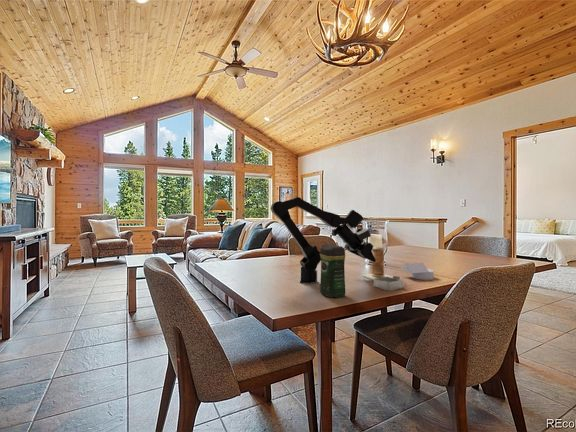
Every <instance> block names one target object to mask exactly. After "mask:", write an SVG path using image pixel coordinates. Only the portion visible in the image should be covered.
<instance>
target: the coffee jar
mask: <svg viewBox="0 0 576 432" xmlns="http://www.w3.org/2000/svg"><path fill="white" fill-rule="evenodd" d="M319 252H320V258H321V261H320V284H319V285H320V287H319V288H320V289H319V290H320V293H321V294H322V295H324V296H326V297H329V298H341V297H344V296H346V280H345V279H346V276H345V262H346V261H345V260H346V249H345V247H343V246H340V245H336V244H330V243H329V244H323V245H322V246H320V251H319Z"/></svg>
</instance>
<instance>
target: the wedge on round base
mask: <svg viewBox="0 0 576 432" xmlns="http://www.w3.org/2000/svg"><path fill="white" fill-rule="evenodd" d="M400 270H402V271H405V272H408V273H411V277H412V279H413V278H414V279H418V280H427V281H428V280H429V281H430V280H434V277H435V276H434V273H435V271H434V270H433V269H432V268H431V269H430V268H427V266H426V265H425V264H424V262H413V263H410V262H409V263H404V265H402V267H401V268H400Z"/></svg>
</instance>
